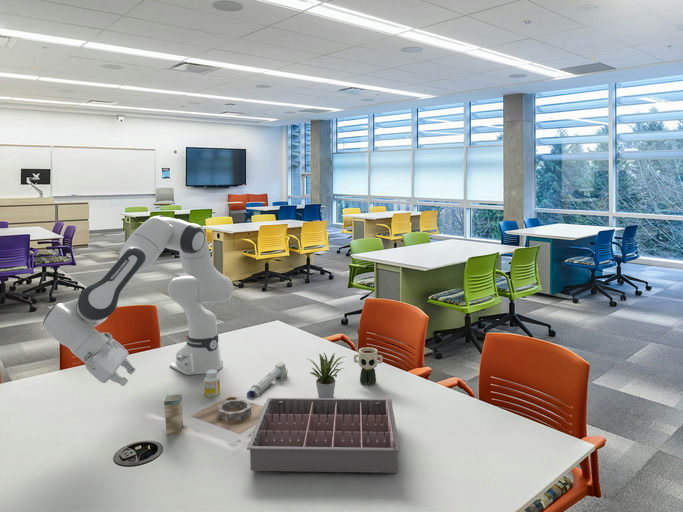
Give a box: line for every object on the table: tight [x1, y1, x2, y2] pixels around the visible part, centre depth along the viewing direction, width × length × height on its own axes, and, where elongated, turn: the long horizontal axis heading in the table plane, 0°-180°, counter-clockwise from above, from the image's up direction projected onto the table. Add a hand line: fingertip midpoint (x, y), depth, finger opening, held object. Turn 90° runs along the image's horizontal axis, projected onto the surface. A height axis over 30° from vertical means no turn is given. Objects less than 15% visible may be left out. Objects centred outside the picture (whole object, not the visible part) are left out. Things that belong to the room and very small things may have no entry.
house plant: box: [306, 352, 348, 398], centre depth 180 cm, size 14×14×16 cm
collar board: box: [190, 398, 265, 435], centre depth 166 cm, size 22×18×4 cm
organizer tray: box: [246, 394, 401, 474], centre depth 147 cm, size 32×40×10 cm
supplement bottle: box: [203, 369, 221, 398], centre depth 181 cm, size 5×5×10 cm
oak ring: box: [223, 395, 240, 402], centre depth 175 cm, size 5×5×1 cm
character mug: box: [353, 346, 383, 386], centre depth 193 cm, size 11×7×13 cm, turn 84°
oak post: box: [163, 393, 184, 436], centre depth 156 cm, size 4×4×11 cm
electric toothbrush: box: [246, 361, 289, 398], centre depth 191 cm, size 5×7×25 cm
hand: (129, 377), depth 152 cm, fingers open, 8 cm apart
